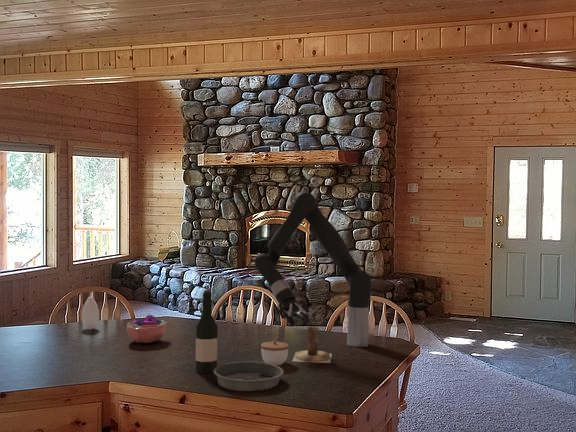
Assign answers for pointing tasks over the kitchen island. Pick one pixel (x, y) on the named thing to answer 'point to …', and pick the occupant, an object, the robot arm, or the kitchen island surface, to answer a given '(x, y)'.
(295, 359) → the mat
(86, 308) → the sauce bottle
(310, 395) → the kitchen island surface
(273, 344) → the lidded jar
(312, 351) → the lid
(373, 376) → the kitchen island surface
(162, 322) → the cell model
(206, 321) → the wine bottle
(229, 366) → the cake pan
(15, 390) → the kitchen island surface
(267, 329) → the kitchen island surface
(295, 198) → the robot arm
